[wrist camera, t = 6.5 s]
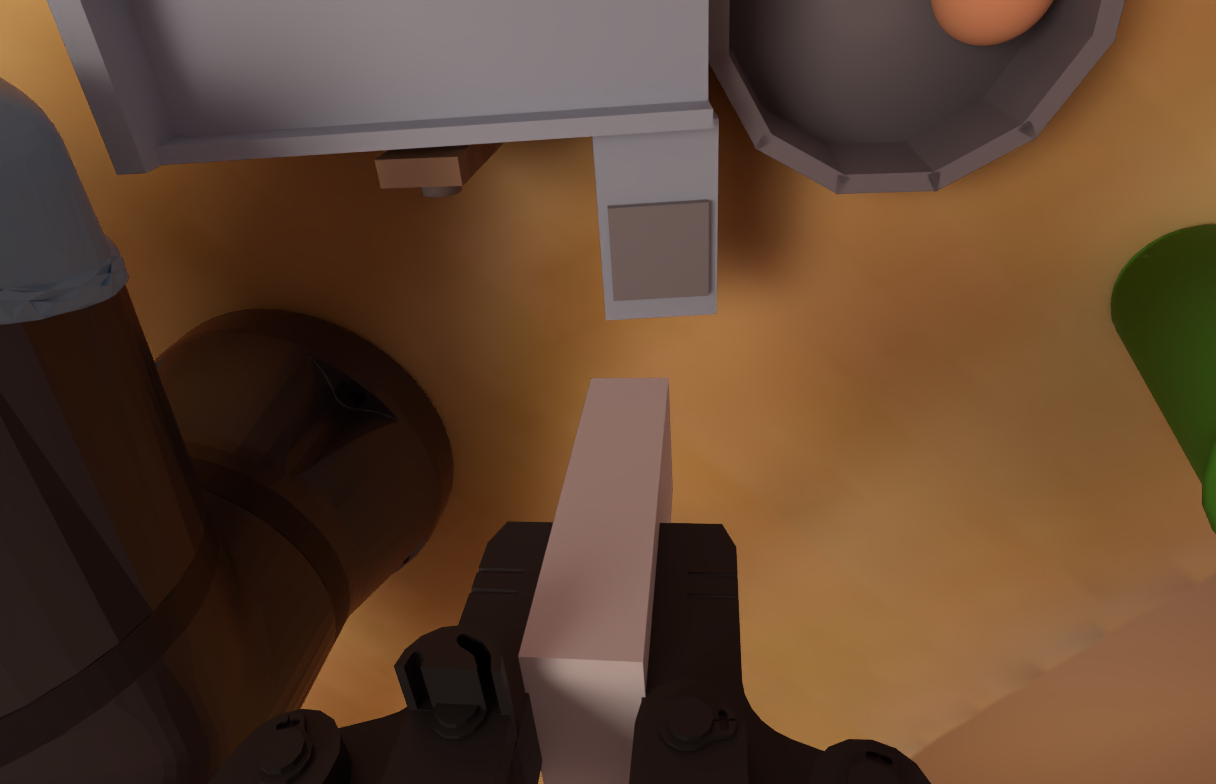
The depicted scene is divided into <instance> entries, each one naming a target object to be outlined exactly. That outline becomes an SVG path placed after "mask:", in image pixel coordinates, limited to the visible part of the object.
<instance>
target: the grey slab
mask: <svg viewBox="0 0 1216 784" xmlns="http://www.w3.org/2000/svg"><path fill="white" fill-rule="evenodd" d="M47 3H48V5H49V8H50V10H51V12H52V15H53V17H54V20H55V22H56V25H57V27H58V30H59V32H60V35H61V37H62V40H63V42H64V45H65V47H66V50H67V52H68V54H69V57H70V59H71V62H72V64H73V67H74V69H75V72H76V74H77V77H78V79H79V82H80V84H81V87H82V89H83V92H84V94H85V96H86V99H87V101H88V104H89V106H90V109H91V111H92V114H93V116H94V119H95V121H96V124H97V126H98V129H99V131H100V134H101V136H102V139H103V141H104V143H105V146H106V148H107V151H108V153H109V156H110V158H111V161H112V163H113V166H114V168H115V171H116V173H117V175H122V174H137V173H147V172H149V171H151V170H153V169H155V168H157V167H159V166H161V165H170V164H185V163H200V162H215V161H230V160H245V159H260V158H275V157H290V156H305V155H320V154H335V153H350V152H365V151H380V150H395V149H410V148H425V147H440V146H455V145H470V144H485V143H500V142H515V141H530V140H545V139H560V138H575V137H590V136H592V138H593V152H594V165H595V179H596V192H597V206H598V219H599V233H600V246H601V260H602V273H603V287H604V300H605V314H606V320H621V319H638V318H656V317H673V316H691V315H708V314H717V232H718V141H719V118H718V116H717V114H716V113H715V111H713V108H712V106H711V104H710V103H709V101H708V14H709V0H47Z"/></svg>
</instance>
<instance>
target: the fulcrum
mask: <svg viewBox="0 0 1216 784" xmlns="http://www.w3.org/2000/svg"><path fill="white" fill-rule="evenodd" d="M503 143H504V142H500V143H485V144H470V145H455V146H440V147H425V148H410V149H395V150H388V151H387V152H385V153H384V154H382V155H381V156H379V157H378V158H377V159H375V160H374V161H375V165H376V170H377V174H378V179H379V183H380V188H381V189H383V188H414V187H421V190H422V195H423V196H425V197H446V196H451V195H454V194H457V193H459V192H461V191H462V186H463V185H464V184H465V183H466V182H467V180H468V179H469V178H470V177H471V176H472V175H473V174H474V173H475V172H476V171H477V170H478V169H479V168H480V167H481V166H482V165H483V164H484V163H485V162H486V161H487V160H488V159H489V158H490V157H491V156H492V155H493V153H494V152H495V151H496V150H497V149H498V148H499V147H500V146H501V145H502V144H503Z"/></svg>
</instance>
